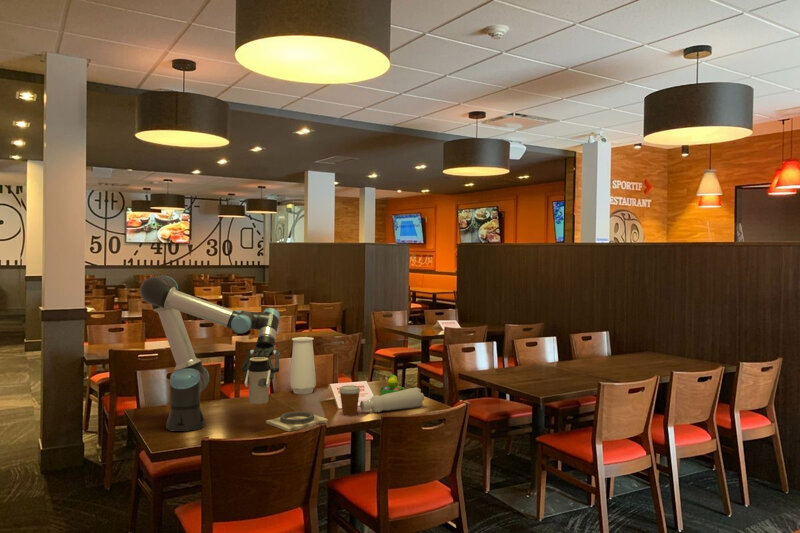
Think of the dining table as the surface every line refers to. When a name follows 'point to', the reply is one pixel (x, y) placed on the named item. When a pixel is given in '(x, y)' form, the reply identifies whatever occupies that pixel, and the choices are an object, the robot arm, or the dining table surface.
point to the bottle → (394, 400)
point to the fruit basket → (391, 386)
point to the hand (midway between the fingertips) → (256, 385)
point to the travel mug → (258, 380)
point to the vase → (303, 366)
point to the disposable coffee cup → (349, 399)
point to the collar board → (294, 427)
